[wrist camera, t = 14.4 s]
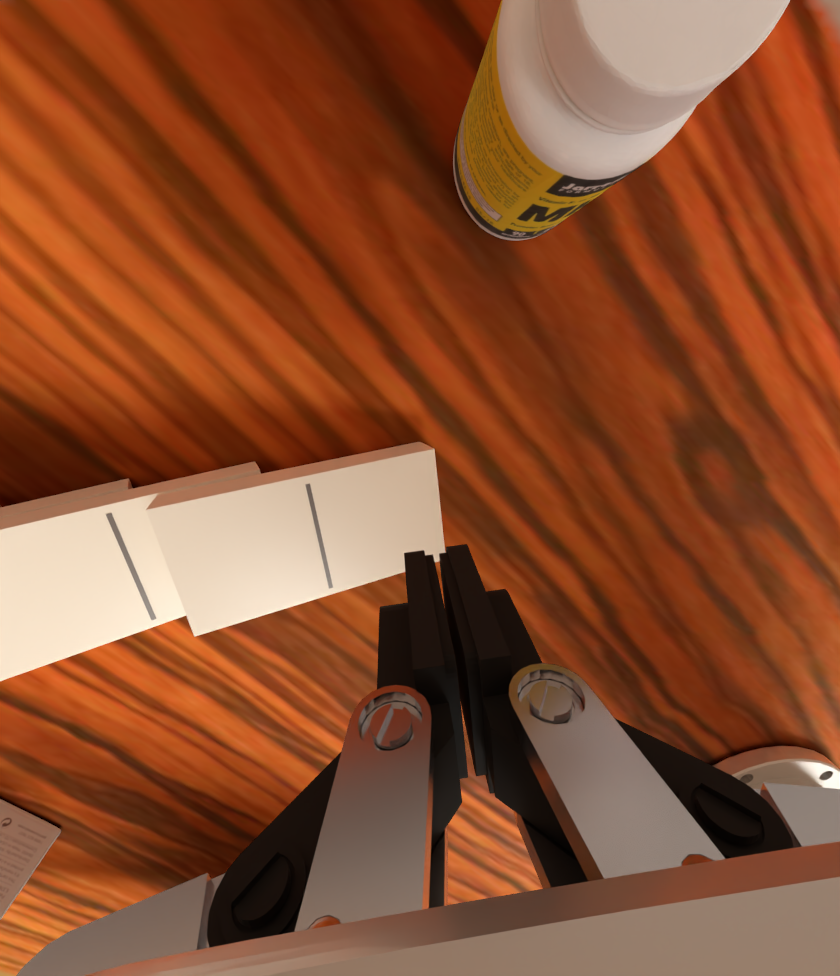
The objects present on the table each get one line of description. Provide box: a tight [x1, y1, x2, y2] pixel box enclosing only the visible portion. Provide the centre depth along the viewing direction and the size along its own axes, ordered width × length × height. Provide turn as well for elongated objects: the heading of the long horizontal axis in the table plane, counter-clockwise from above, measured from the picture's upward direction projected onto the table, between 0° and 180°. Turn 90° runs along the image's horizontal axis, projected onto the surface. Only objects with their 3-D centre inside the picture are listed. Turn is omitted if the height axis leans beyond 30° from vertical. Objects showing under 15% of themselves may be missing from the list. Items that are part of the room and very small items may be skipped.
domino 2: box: [146, 442, 445, 637], centre depth 16 cm, size 2×5×10 cm
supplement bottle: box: [453, 0, 790, 241], centre depth 10 cm, size 5×5×8 cm
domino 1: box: [0, 461, 261, 681], centre depth 15 cm, size 2×5×10 cm
